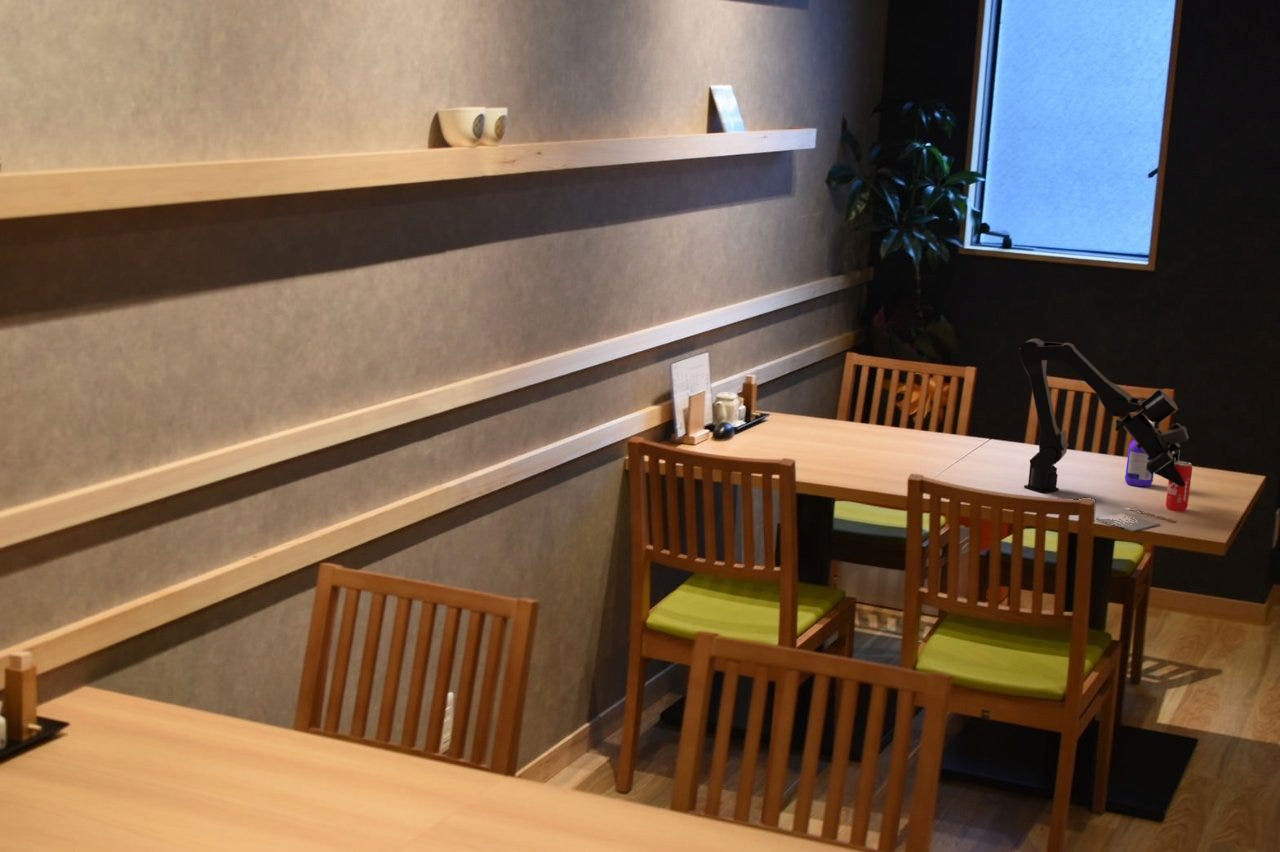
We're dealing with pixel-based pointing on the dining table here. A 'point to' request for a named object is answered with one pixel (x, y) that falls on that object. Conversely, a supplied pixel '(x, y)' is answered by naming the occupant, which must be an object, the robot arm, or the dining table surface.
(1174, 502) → the beverage can
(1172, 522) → the line
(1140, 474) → the bottle
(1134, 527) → the mat
